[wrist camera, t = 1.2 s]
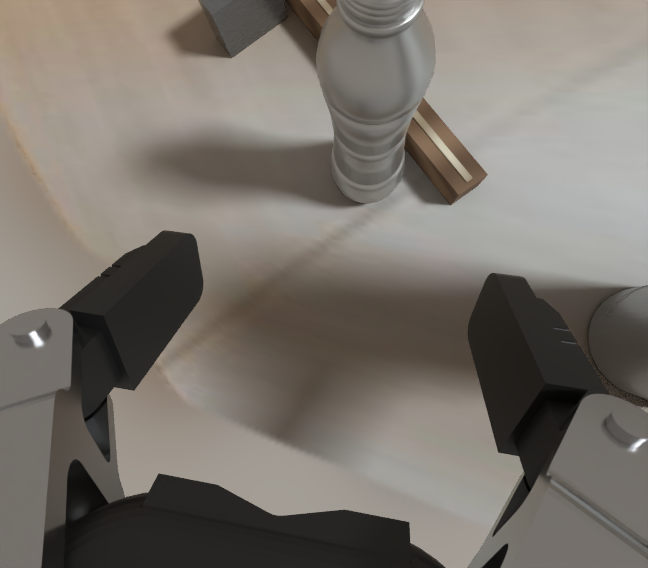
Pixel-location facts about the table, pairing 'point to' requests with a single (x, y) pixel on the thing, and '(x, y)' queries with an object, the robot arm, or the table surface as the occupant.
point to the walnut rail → (416, 127)
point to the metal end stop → (242, 20)
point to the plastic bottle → (373, 89)
